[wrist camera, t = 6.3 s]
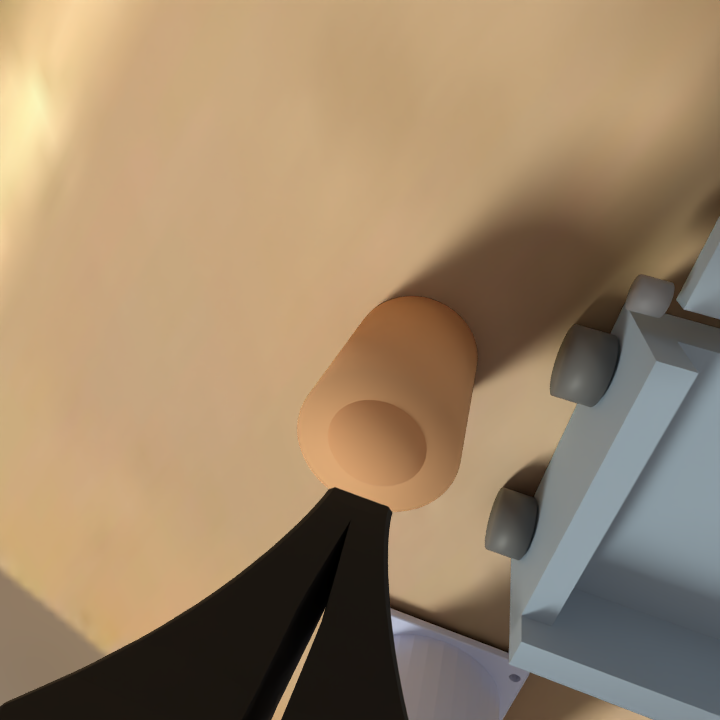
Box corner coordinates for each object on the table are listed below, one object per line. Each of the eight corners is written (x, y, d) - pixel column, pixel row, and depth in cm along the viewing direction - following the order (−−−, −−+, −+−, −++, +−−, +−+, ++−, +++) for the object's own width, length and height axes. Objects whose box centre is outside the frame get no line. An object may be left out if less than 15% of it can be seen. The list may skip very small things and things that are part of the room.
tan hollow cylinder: (457, 424, 21) (431, 553, 15) (344, 388, 21) (276, 497, 15) (494, 317, 18) (481, 416, 12) (368, 280, 19) (299, 359, 13)
